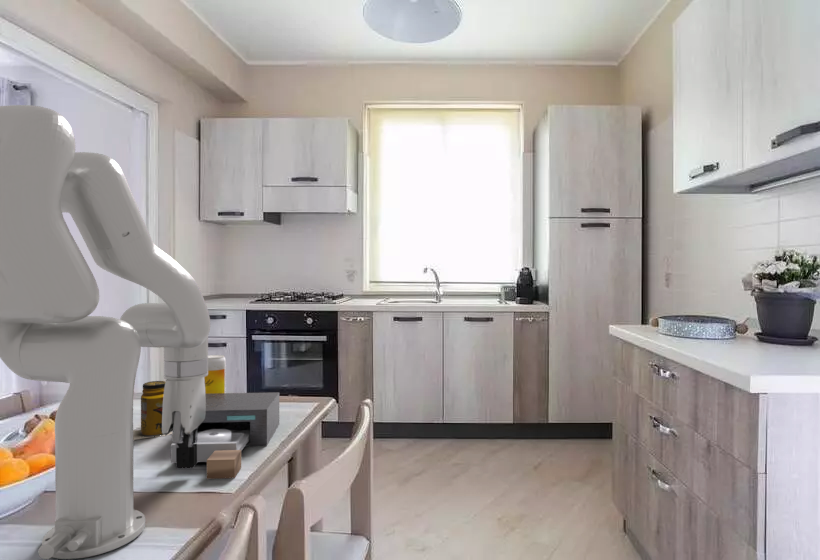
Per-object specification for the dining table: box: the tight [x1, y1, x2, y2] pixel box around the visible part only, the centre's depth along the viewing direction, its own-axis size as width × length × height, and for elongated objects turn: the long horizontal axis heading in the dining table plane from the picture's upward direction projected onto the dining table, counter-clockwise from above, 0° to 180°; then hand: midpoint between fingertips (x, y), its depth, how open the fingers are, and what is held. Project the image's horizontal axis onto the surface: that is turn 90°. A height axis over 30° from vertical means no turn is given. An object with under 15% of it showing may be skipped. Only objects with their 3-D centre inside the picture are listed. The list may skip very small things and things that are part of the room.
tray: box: [170, 430, 250, 464], centre depth 107 cm, size 16×12×4 cm
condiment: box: [133, 380, 173, 441], centre depth 119 cm, size 7×8×12 cm
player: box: [198, 392, 280, 447], centre depth 118 cm, size 16×20×8 cm
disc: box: [197, 429, 231, 443], centre depth 106 cm, size 7×7×2 cm
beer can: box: [204, 354, 227, 394], centre depth 139 cm, size 6×6×15 cm
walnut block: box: [206, 450, 242, 480], centre depth 96 cm, size 5×5×4 cm
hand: (186, 466), depth 94 cm, fingers closed
